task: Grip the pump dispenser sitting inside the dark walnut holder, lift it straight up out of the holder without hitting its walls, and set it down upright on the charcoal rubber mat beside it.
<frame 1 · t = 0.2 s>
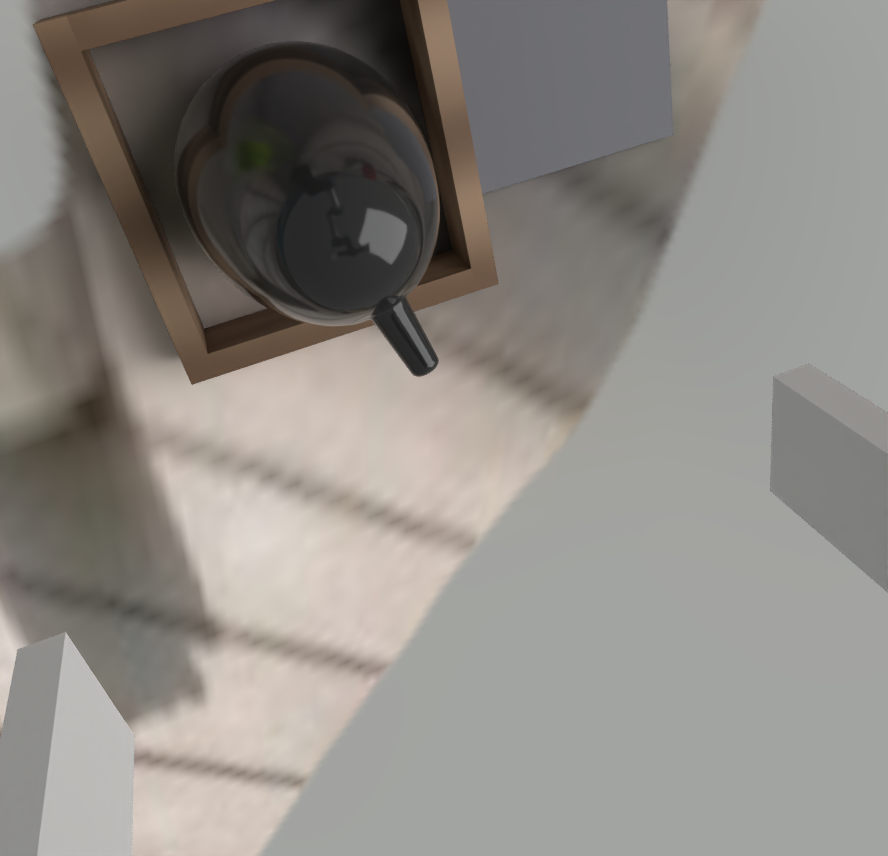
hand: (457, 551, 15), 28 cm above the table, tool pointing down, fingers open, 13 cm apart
walnut holder: (291, 159, 37), on the table
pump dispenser: (290, 158, 37), resting in walnut holder
rubber mat: (556, 35, 38), on the table
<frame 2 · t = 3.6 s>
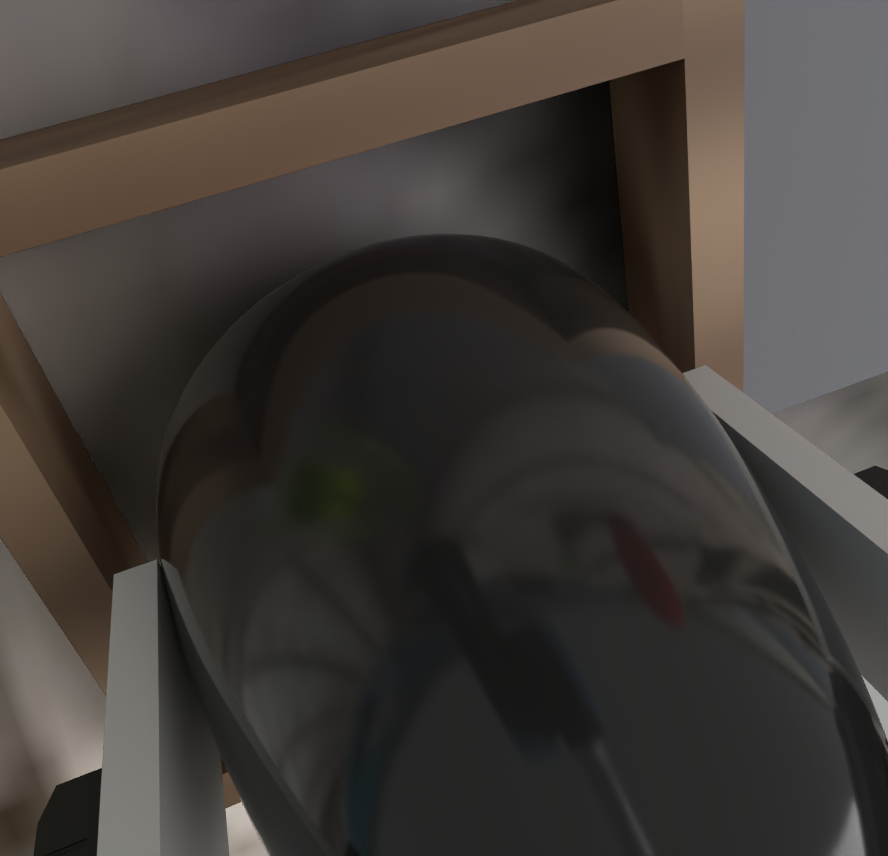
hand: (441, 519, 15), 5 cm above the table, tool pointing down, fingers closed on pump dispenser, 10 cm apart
walnut holder: (383, 405, 19), on the table
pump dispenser: (382, 401, 20), resting in walnut holder, touching gripper
rubber mat: (876, 165, 20), on the table
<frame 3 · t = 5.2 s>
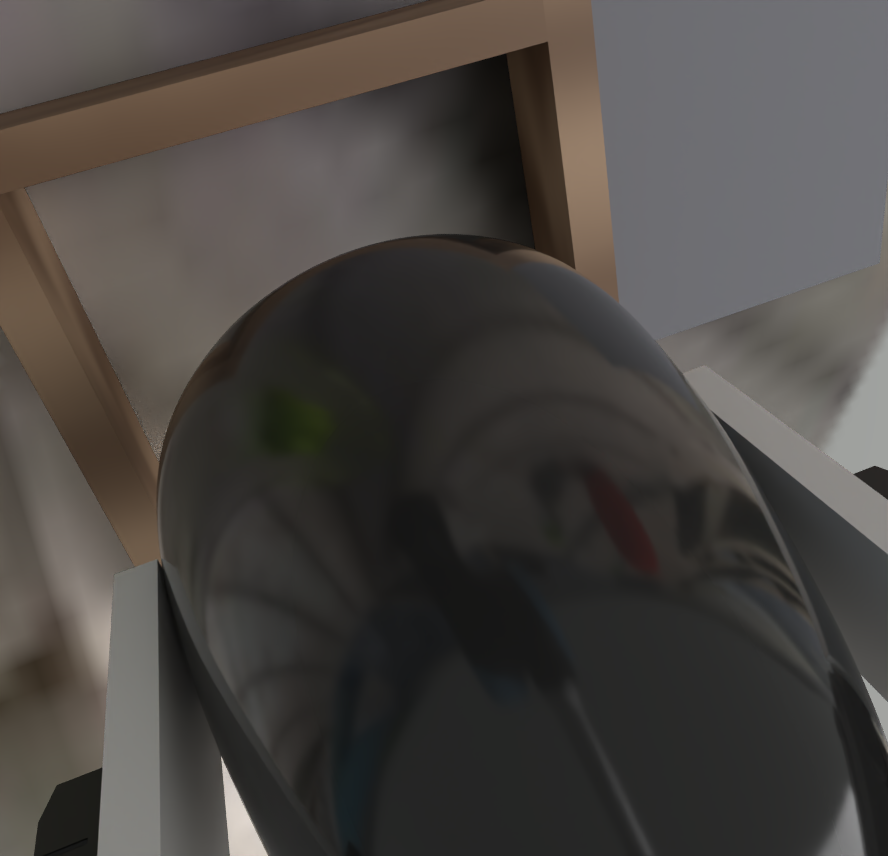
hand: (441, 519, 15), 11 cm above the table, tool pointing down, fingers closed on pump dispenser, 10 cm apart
walnut holder: (338, 321, 24), on the table
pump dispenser: (382, 401, 20), point 6 cm above the table, touching gripper
rubber mat: (733, 131, 25), on the table
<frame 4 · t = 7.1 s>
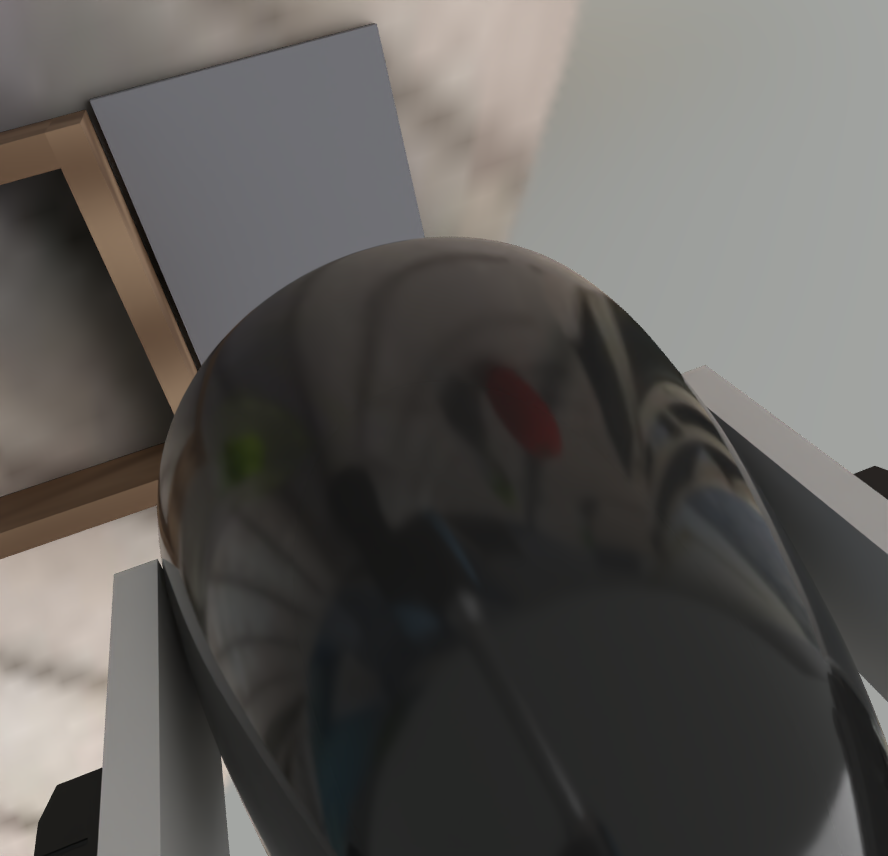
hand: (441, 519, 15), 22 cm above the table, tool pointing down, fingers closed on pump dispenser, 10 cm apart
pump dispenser: (383, 402, 20), point 17 cm above the table, touching gripper
rubber mat: (284, 212, 34), on the table
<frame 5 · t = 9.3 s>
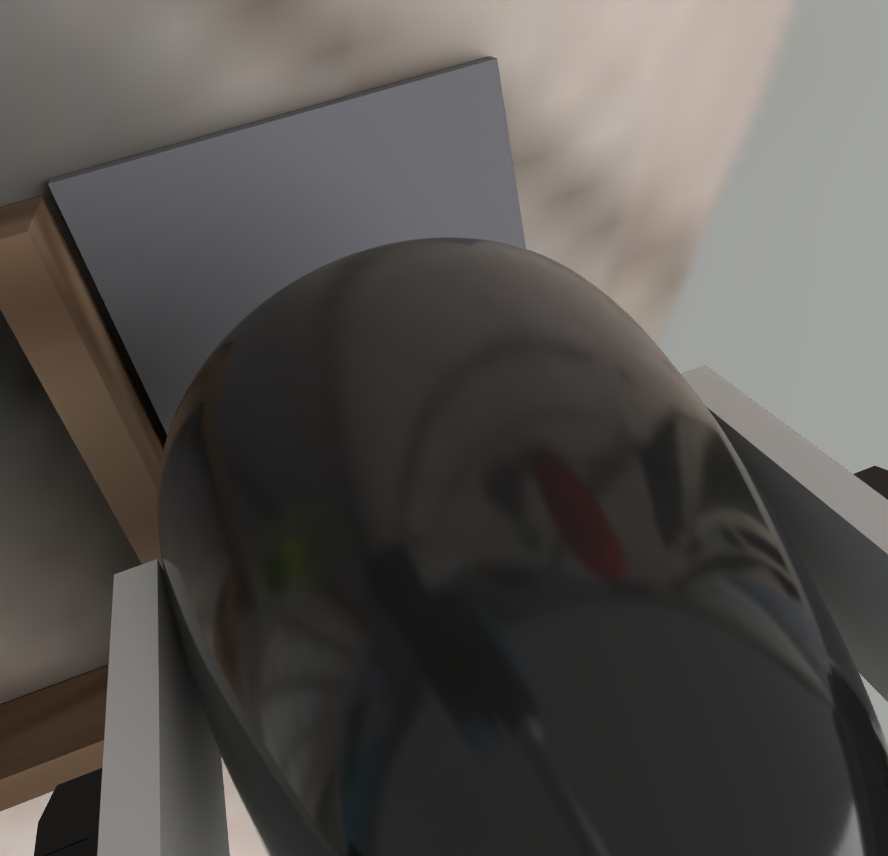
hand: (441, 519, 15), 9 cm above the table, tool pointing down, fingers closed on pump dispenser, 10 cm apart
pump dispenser: (383, 403, 20), point 4 cm above the table, touching gripper
rubber mat: (344, 333, 23), on the table
when the fingers open (7 cm above the table, at t = 10.9 s): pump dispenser drops 1 cm, resting on rubber mat.
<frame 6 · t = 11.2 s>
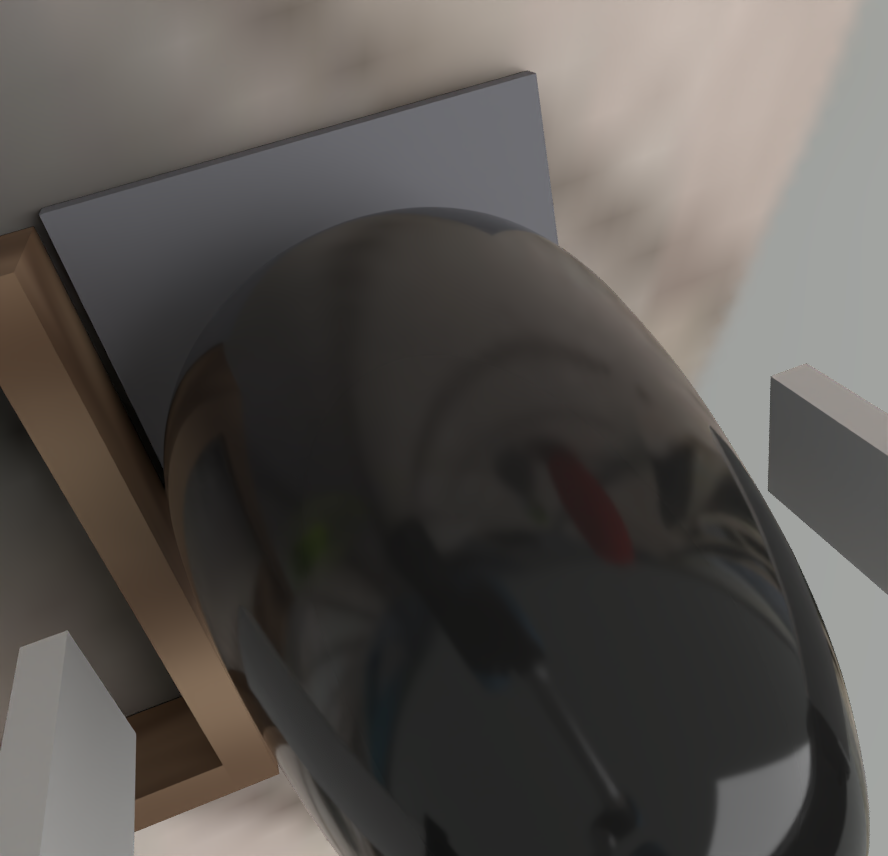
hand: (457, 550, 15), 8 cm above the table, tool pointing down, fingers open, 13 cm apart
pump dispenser: (372, 375, 21), resting on rubber mat
rubber mat: (364, 371, 21), on the table
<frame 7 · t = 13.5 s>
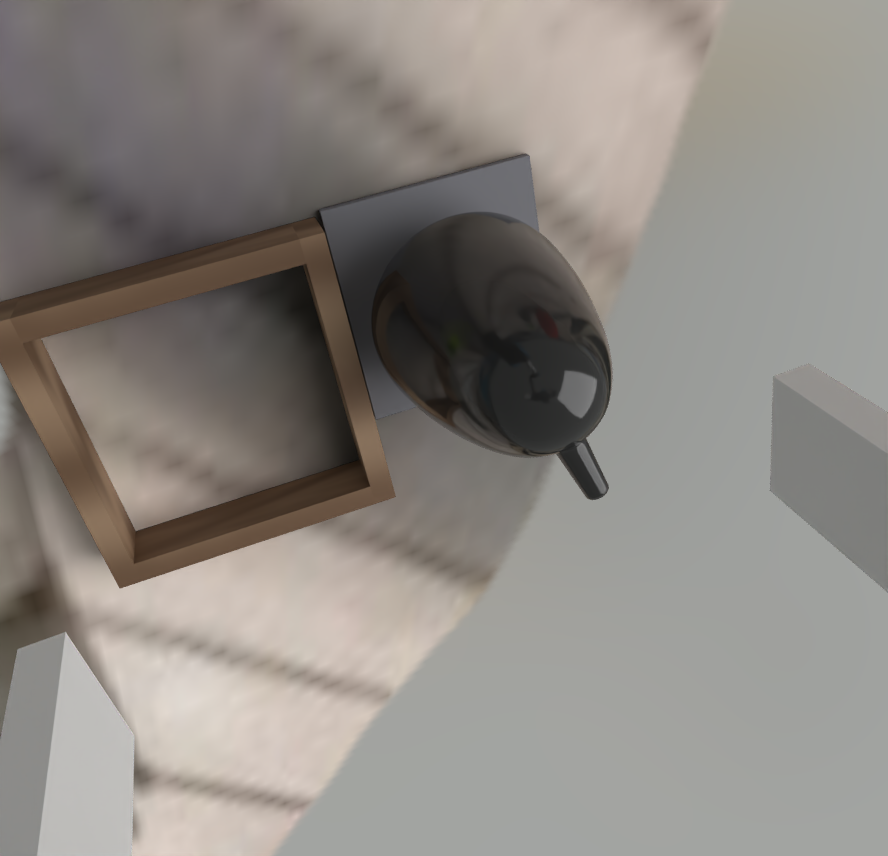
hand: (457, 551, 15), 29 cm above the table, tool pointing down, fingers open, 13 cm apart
walnut holder: (212, 397, 43), on the table
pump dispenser: (449, 291, 44), resting on rubber mat
rubber mat: (446, 291, 44), on the table
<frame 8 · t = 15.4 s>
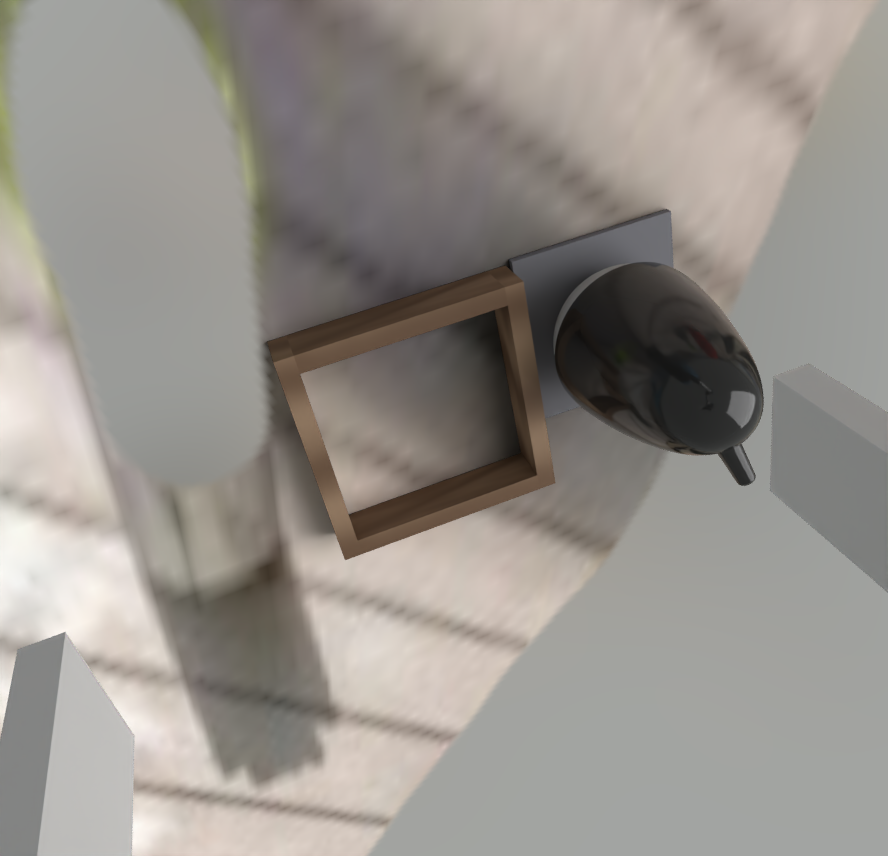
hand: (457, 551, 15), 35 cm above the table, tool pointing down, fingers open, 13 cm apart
walnut holder: (416, 407, 54), on the table
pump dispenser: (601, 318, 54), resting on rubber mat
rubber mat: (598, 318, 55), on the table
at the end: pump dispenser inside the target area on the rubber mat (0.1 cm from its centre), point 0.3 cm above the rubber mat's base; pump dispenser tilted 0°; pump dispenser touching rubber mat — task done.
